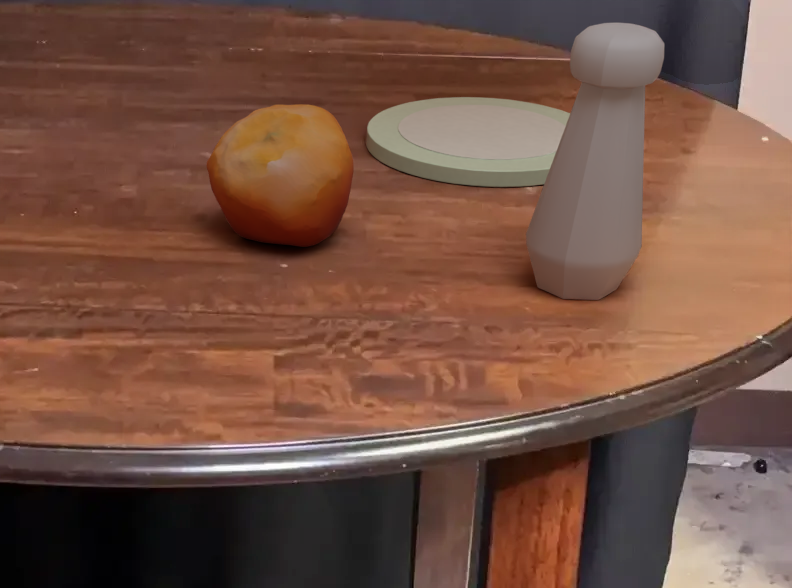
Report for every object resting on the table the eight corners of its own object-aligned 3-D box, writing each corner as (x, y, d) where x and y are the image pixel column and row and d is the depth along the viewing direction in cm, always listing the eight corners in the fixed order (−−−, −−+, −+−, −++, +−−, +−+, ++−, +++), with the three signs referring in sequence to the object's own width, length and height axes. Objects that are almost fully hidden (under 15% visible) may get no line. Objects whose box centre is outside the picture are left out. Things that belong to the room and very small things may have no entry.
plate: (589, 116, 103) (592, 100, 102) (613, 192, 91) (616, 175, 90) (368, 107, 105) (369, 91, 104) (362, 181, 93) (364, 164, 92)
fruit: (389, 190, 87) (369, 87, 80) (333, 298, 85) (308, 201, 78) (265, 166, 91) (236, 66, 84) (208, 269, 89) (173, 174, 82)
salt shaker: (498, 272, 81) (535, 19, 74) (588, 257, 83) (634, 8, 75) (560, 314, 77) (606, 49, 69) (654, 297, 79) (710, 37, 71)
